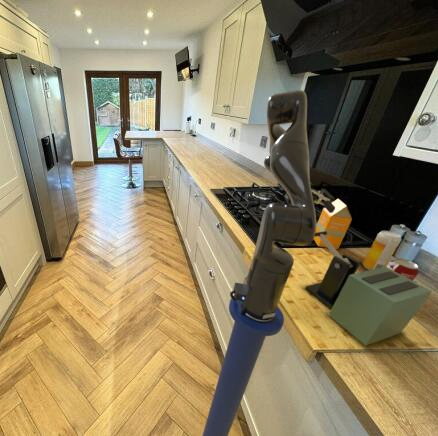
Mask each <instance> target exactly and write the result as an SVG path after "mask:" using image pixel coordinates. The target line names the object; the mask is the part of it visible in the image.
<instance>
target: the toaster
mask: <svg viewBox="0 0 438 436" xmlns="http://www.w3.org/2000/svg"><path fill="white" fill-rule="evenodd" d="M432 292H433V291H432V290H431V289H429V288H427V287H425V286H423V285H421V284H419V283H418V282H415V281H414V280H413V281H412V280H410V279H408V278H406V277H404V276H402V275H400V274H398V273H396V272H394V271H393V270H391V269H389V268H387V267H381V268H377V269H373V270H365V271H360V272H355V274H351V275H349V277H348V279H347V281H346V283H345V285H344V287H343V288H342V290H341V292H340V294H339V296H338V298H337V300H336V302H335V304H334V306H333V308H332V309H330V312H329V314H328V317H329V318H331V319H332V320H333V321H335V322H336V323H337V324H338V325H340V326H341V327H342V328H343V329H344V330H346V331H347V332H348V333H349V334H350V335H352V336H353V337H354V338H355V339H356V340H358V341H359V342H360V343H361V344H363V345H364V346H365V347H366V346H369V345H371V344H375V343H377V342H380V341H383V340H385V339H389V338H390V337H393V336H396V335H399V334H402V332H403V331H404V330H405V328H406V327H407V326H408V325H409V323H410V322H411V320H412V319H413V318H414V317H415V315H416V314H417V313H418V311H419V310H420V308H421V307H422V306H423V304H424V303H425V302H426V301H427V299H428V298H429V297H430V295H431V293H432Z"/></svg>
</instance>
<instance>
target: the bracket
mask: <svg viewBox="0 0 438 436" xmlns="http://www.w3.org/2000/svg"><path fill="white" fill-rule="evenodd" d="M341 257H342V258H343V259H344V258H347V259H348V260H349V261H350V262H351V263H352V265H353V267H352V268H350V269H349V267H350V264H349V263H347V262H345V261H344V260H342V259H340V258H338V257H337V256H334V255H333V257H332V259H331V261H330V262H329V265H328V267H327V270H326V272H325V274H324V276H323V278H322V280H321V282H317V283H313V284H309V285H306V286H305V290H306V291H307V292H308V293H310V294H311V296H313V297H315V298H316V299H317V300H319V302H321V303H322V304H324V305H325V306H326V307H327V308H329V309H330V310H331V309H332V308H333V306H334V304H335V302H336V300H337V298H338V296H339V294H340V292H341V290H342V288H343V287H344V285H345V283H346V281H347V279H348V277H349V275H351V274H356V273H357V270H358V269H359V267H360V265H361V263H362V262H360V261H359V260H357V259H355V258H353V257H352V256H349V255H348V254H346V253H344V254H342V255H341Z"/></svg>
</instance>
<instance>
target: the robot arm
mask: <svg viewBox="0 0 438 436" xmlns="http://www.w3.org/2000/svg"><path fill="white" fill-rule="evenodd" d="M307 96H308V95H307V93H306V92H305V91H304V90H303V89H302V90H301V89H297V90H290V91H285V92H279V93H275V94H272V95H271V96H270V97H268V100H267V103H266V112H265V113H266V114H265V115H266V126H267V132H268V133H267V134H268V137H269V147H268V149H269V150H268V151H269V155H268V156H266V157H265V158H264V160H263V166H264V168H265V169H266V170H267V171H268V172H269V173H271V175H272V176H273V177H274V179H275V180H276V182H277V183H278V185H280V186H281V188H282V189H283V190H284V191H285V192H286V193H285V195H284V196H283V197H284V200H285V201H286V203H287V204H285V203H276V202H272V203H269V204H267V205H266V207H265V209H264V211H263V214H262V217H261V222H260V226H259V230H258V235H257V240H256V243H255V248H254V253H253V254H252V255H253V256H252V258H251V262H250V266H249V269H248V272H247V275H245V276H244V279H243V282H242V283H239V282H234V285H233V290H231V291H230V292H229V296H230V299H231V298H232V299H233V300H234V301H236V300H239V307H240V312H241V315H244V316H246V317H248V318H249V319H251V320H253V321H255V322H259V323H268V322H270V321H272V319H273V317H274V316H275V314H276V313H275V311H276V308H277V306H278V305H279V303H280V300H281V298H282V295H283V292H284V289H285V288H286V285H287V282H288V280H289V277H290V275H291V274H290V273H291V272H292V269H293V266H294V263H295V260H294V259H295V258H294V257H293V255H292V254H291V253H290V252H289V251H288V250H286V249H285V248H283V247H281V246H279V245H278V244H276V243H281V244H286V245H292V246H302V247H305V246H309V245H310V244H311V243H312V242H313V241H314V236H315V233H316V225H317V214H316V209H315V204H317V205H319V204H320V205H322V206H323V208H326V209H327V210H328V211H329V213H333V212H334V210H335V206H334V205H333V204H332V202H334V201H335V200H336V199H335V197H334V196H333V195H332V194H331V193H330V192H329V191H328V190H327V189H326V188H321V190H317V189H315V187H314V184H313V183H312V182H311V174H310V149H309V147H310V146H309V139H308V126H307V125H308V123H307V122H308V97H307ZM284 124H285V125H286V124H290V125H289V127H288V128H287V129H286V130H285V129H284V128H283V127H282V126H281V125H284ZM317 198H318V199H317ZM322 200H323V201H322ZM233 295H235V297H234V296H233ZM278 307H279V306H278Z"/></svg>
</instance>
